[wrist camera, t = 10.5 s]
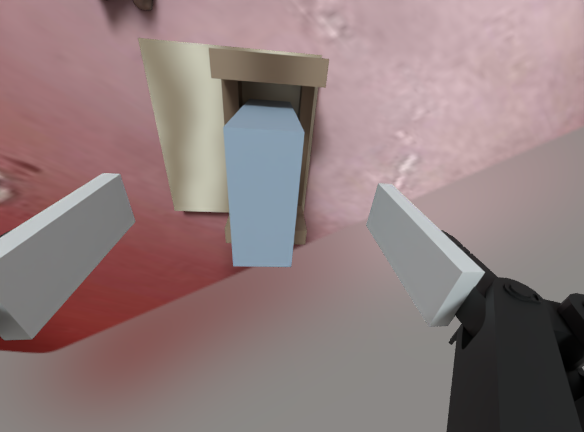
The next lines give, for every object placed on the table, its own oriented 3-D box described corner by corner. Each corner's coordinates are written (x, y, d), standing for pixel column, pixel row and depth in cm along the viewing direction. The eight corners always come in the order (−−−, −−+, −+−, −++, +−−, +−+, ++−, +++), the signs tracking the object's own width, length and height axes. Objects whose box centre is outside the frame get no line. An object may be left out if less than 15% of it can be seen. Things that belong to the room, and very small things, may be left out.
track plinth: (179, 204, 27) (149, 245, 20) (147, 40, 19) (82, 24, 13) (302, 208, 28) (309, 248, 22) (318, 56, 20) (338, 49, 14)
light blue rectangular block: (248, 98, 20) (220, 126, 10) (291, 101, 21) (306, 132, 10) (249, 184, 24) (231, 266, 14) (285, 186, 25) (292, 266, 15)
